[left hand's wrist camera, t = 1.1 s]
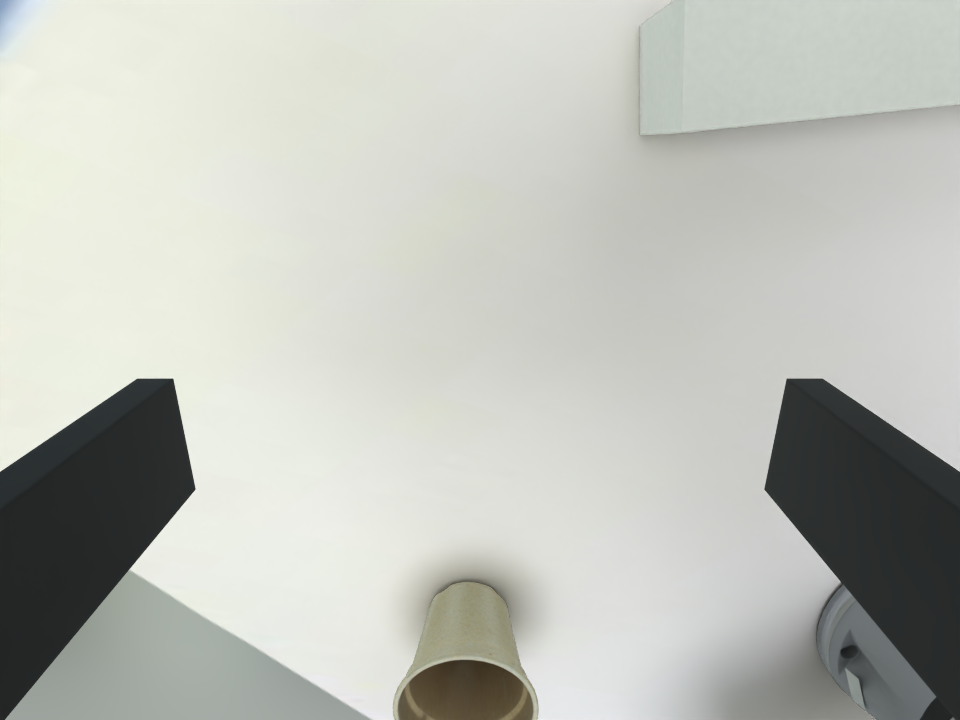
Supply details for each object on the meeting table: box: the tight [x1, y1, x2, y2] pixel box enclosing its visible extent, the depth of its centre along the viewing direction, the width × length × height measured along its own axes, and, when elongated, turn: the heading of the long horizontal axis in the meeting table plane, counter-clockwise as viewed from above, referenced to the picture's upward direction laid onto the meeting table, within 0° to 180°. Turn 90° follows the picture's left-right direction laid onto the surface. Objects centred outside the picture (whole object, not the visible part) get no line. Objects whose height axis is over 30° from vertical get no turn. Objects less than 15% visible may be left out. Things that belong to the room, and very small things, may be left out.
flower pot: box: [393, 582, 538, 720], centre depth 41 cm, size 9×9×9 cm
